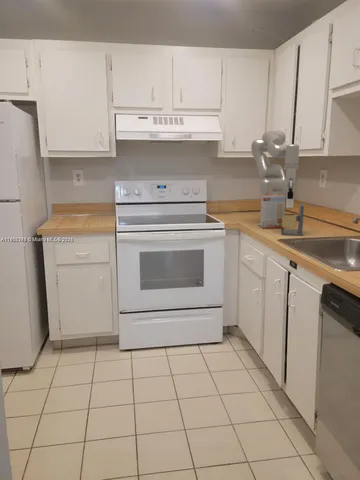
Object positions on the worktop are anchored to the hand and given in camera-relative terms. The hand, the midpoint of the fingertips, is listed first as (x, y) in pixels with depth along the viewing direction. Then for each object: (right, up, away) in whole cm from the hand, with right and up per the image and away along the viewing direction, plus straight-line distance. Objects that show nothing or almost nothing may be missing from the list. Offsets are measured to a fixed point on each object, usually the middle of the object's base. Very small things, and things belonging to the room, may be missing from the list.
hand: (290, 198), depth 215 cm
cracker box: (-4, -17, +24) cm, 30 cm away
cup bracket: (+2, -20, +4) cm, 21 cm away
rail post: (0, -5, +1) cm, 5 cm away
